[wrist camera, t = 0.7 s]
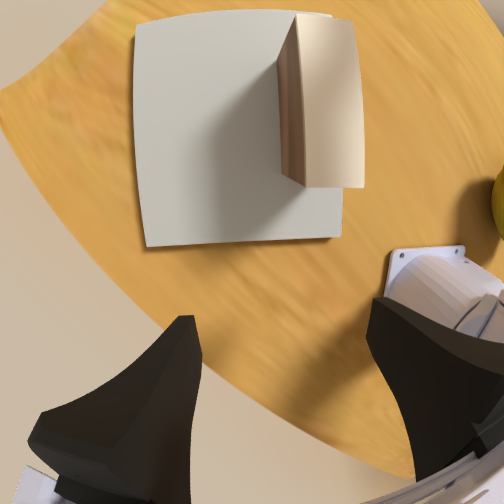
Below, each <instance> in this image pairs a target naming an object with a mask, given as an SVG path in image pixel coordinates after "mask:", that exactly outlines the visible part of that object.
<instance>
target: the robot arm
mask: <svg viewBox="0 0 504 504" xmlns="http://www.w3.org/2000/svg"><path fill="white" fill-rule="evenodd" d="M455 250H456V251H455ZM465 250H466V249H465V246H463V245H453V246H437V247H421V248H405V249H395V250H393V251H392V252H391V255H390V262H389V268H388V274H387V280H386V286H385V291H384V296H383V297H380V298H374V299H373V303H372V308H371V314H370V319H369V324H368V329H367V334H366V340H367V343H368V345H369V348H370V351H371V353H372V356H373V358H374V360H375V362H376V363H377V365H378V367H379V369H380V371H381V373H382V374H383V376H384V378H385V380H386V382H387V383H388V385H389V387H390V389H391V391H392V393H393V395H394V397H395V399H396V401H397V403H398V406H399V409H400V412H401V414H402V417H403V420H404V423H405V427H406V430H407V433H408V437H409V441H410V445H411V450H412V454H413V460H414V467H415V475H416V483H415V484H412V485H410V486H408V487H405V488H403V489H401V490H398V491H396V492H393V493H390V494H388V495H385V496H382V497H380V498H376V499H374V500H371V501H368V502H364V503H361V504H414V503H416V502H418V501H420V500H422V499H424V498H426V497H428V496H430V495H432V494H434V493H436V492H438V491H440V490H441V489H443V488H445V487H446V488H445V490H444V491H443V492H441V493H440V494H438V495H437V496H435V497H433V498H431V499H429V500H428V501H427V502H426V503H425V504H504V284H503V283H502V282H501V280H499V279H498V278H497V277H495V276H494V275H492V274H491V273H489V272H488V271H486V270H485V269H483V268H482V267H480V266H479V265H477V264H476V263H474V262H473V261H471V260H469V259H468V258H466V257H465V256H464V255H465ZM401 253H402V256H401V257H400V254H401ZM201 369H202V351H201V347H200V342H199V337H198V333H197V328H196V323H195V318H194V315H185V316H178V317H177V318H176V319H175V320H174V321H173V322H172V324H171V325H170V326H169V327H168V328H167V329H166V330H165V331H164V332H163V333H162V335H161V336H160V337H159V338H158V339H157V340H156V341H155V342H154V343H153V344H152V345H151V346H150V347H149V348H148V349H147V350H146V351H145V352H144V353H143V354H142V355H141V356H140V357H139V358H138V359H136V361H134V362H133V363H132V364H131V365H130V366H128V367H127V368H126V369H125V370H123V371H122V372H121V373H119V374H118V375H117V376H115V377H114V378H113V379H111V380H110V381H108V382H106V383H105V384H103V385H102V386H100V387H98V388H97V389H95V390H94V391H92V392H90V393H88V394H86V395H84V396H82V397H80V398H78V399H76V400H74V401H72V402H69V403H67V404H65V405H62V406H59V407H57V408H54V409H51V410H48V411H45V412H42V413H41V415H40V416H39V418H38V420H37V422H36V424H35V426H34V428H33V430H32V432H31V434H30V436H29V438H28V444H29V447H30V448H31V450H32V451H33V452H34V453H35V454H36V455H37V456H38V457H39V458H40V459H41V460H42V461H43V462H45V463H46V464H47V465H48V466H49V467H50V468H52V469H53V470H54V471H56V472H57V473H58V474H59V477H58V480H55V479H53V478H52V477H50V476H48V475H46V474H44V473H42V472H40V471H38V470H36V469H34V468H32V467H31V466H28V465H26V466H25V469H24V471H23V474H22V476H21V479H20V481H19V484H18V487H17V490H16V493H15V495H14V498H13V501H12V504H191V494H190V446H191V429H192V421H193V416H194V411H195V405H196V400H197V394H198V389H199V384H200V379H201Z"/></svg>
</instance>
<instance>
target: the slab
mask: <svg viewBox="0 0 504 504" xmlns="http://www.w3.org/2000/svg"><path fill="white" fill-rule="evenodd" d="M276 62H277V78H278V96H279V116H280V141H281V172H282V175H284V176H286V177H288V178H290V179H292V180H293V181H295V182H297V183H299V184H301V185H302V186H304V187H306V188H364V118H363V100H362V87H361V77H360V67H359V59H358V51H357V44H356V38H355V31H354V26H353V21H349V20H343V19H338V18H331V17H325V16H317V15H309V14H298V13H296V15H295V17H294V19H293V22H292V24H291V26H290V29H289V31H288V33H287V36H286V38H285V40H284V43H283V45H282V48H281V50H280V52H279V55H278V57H277V60H276Z"/></svg>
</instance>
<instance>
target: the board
mask: <svg viewBox="0 0 504 504" xmlns="http://www.w3.org/2000/svg"><path fill="white" fill-rule="evenodd" d="M296 13H298V14H309V15H317V16H325V17H331V18H332V15H328V14H321V13H313V12H304V11H292V10H273V9H242V10H223V11H211V12H202V13H194V14H187V15H181V16H175V17H170V18H165V19H160V20H155V21H151V22H147V23H142V24H139V25H136V34H135V48H134V70H133V117H134V140H135V156H136V168H137V179H138V188H139V197H140V205H141V213H142V220H143V227H144V233H145V240H146V246H147V247H155V246H172V245H188V244H206V243H224V242H242V241H262V240H282V239H303V238H325V237H341V228H342V207H343V188H306V187H304V186H302V185H301V184H299V183H297V182H295V181H293V180H292V179H290V178H288V177H286V176H284V175H282V172H281V141H280V116H279V96H278V78H277V62H276V60H277V57H278V55H279V52H280V50H281V48H282V45H283V43H284V40H285V38H286V36H287V33H288V31H289V29H290V26H291V24H292V22H293V19H294V17H295V15H296Z"/></svg>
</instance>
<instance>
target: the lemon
mask: <svg viewBox="0 0 504 504" xmlns="http://www.w3.org/2000/svg"><path fill="white" fill-rule="evenodd" d="M491 204H492V215H493V219H494V222H495V225H496V228H497V230H498V232H499V234H500V236H501V238H502V239H503V241H504V166H503V169H502V170H501V172H500V173H499V174H498V176H497V178H496V180H495V182H494V186H493V190H492V197H491Z"/></svg>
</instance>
